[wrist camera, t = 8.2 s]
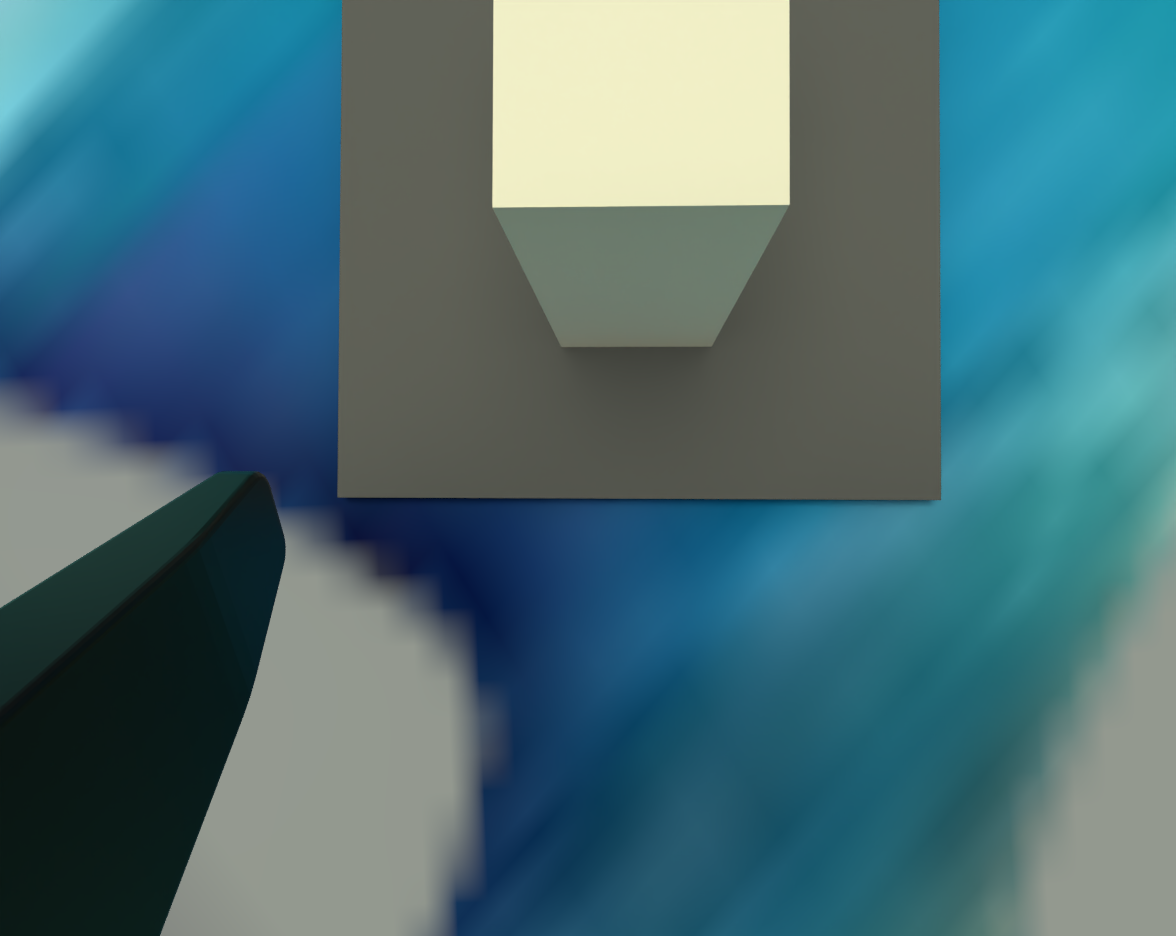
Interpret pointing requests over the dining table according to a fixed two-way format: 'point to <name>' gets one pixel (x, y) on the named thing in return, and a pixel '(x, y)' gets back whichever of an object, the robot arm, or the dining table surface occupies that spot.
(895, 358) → the mat
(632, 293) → the cream pillar
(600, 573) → the dining table surface
